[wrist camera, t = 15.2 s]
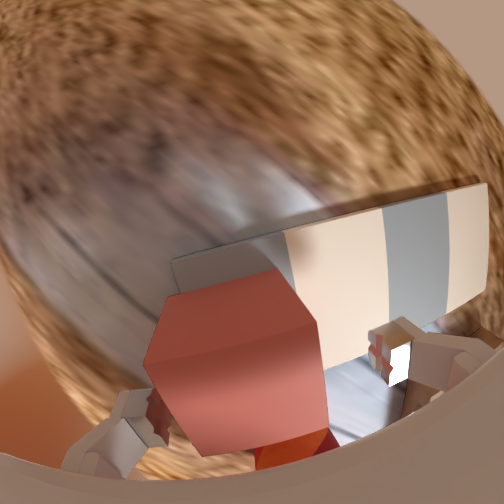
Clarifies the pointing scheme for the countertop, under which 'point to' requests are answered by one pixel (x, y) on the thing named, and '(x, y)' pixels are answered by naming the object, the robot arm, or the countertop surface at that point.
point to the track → (366, 265)
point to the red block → (239, 364)
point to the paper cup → (294, 449)
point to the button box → (424, 394)
